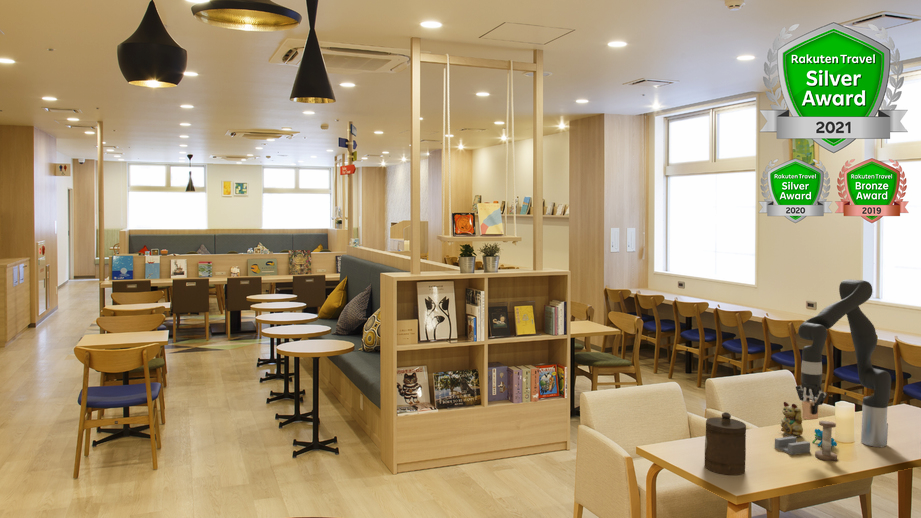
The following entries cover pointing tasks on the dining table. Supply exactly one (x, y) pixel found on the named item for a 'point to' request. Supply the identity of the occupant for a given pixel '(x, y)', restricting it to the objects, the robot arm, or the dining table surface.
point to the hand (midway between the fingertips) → (810, 412)
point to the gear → (819, 437)
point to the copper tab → (808, 411)
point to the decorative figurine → (791, 420)
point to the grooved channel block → (792, 445)
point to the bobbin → (826, 442)
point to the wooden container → (725, 445)
